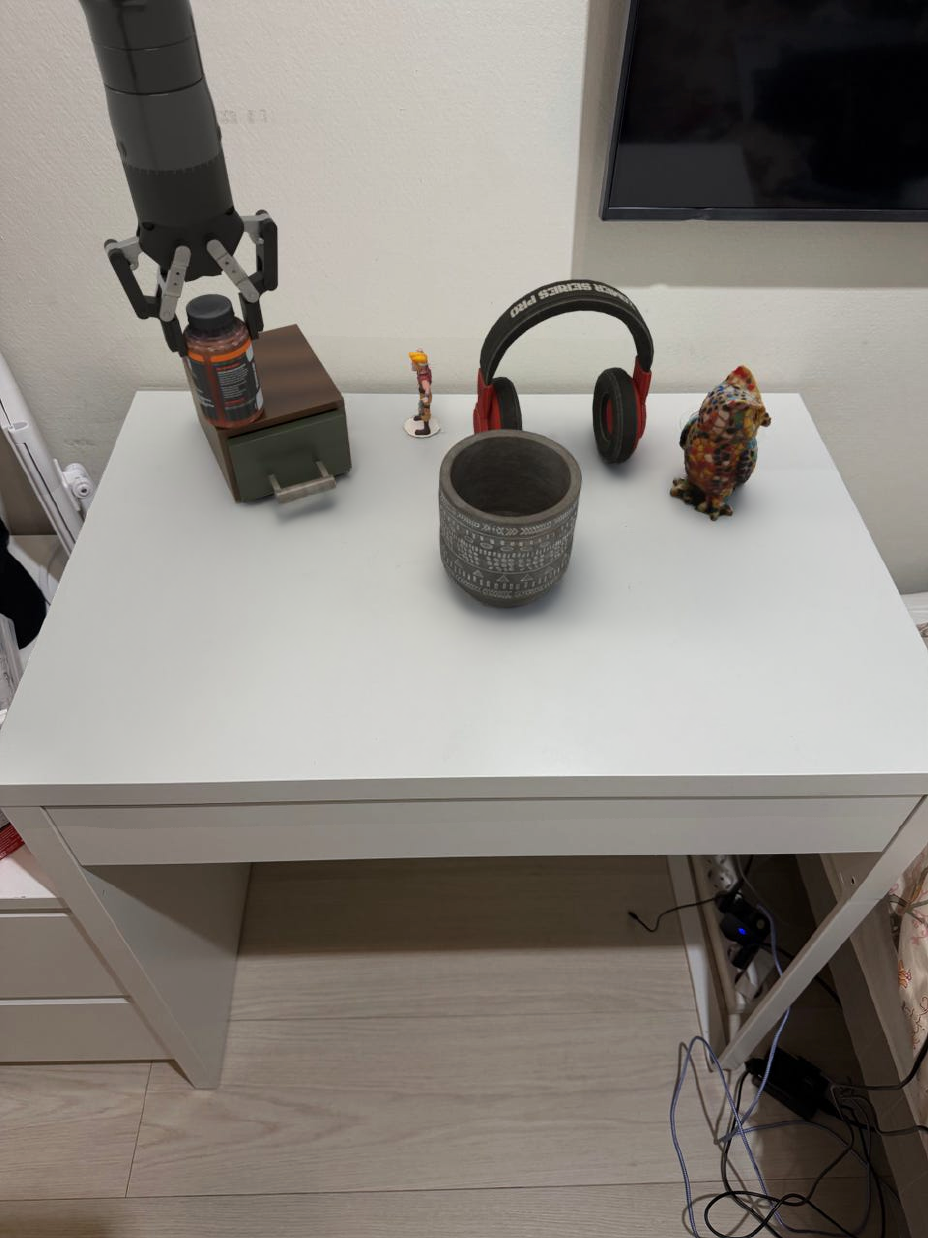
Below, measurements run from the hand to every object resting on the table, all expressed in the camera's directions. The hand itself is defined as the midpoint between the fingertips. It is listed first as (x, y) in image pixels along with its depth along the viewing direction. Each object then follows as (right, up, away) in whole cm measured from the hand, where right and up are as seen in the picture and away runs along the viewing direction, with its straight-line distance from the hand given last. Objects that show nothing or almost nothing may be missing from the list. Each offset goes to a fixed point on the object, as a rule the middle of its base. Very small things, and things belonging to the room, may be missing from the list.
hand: (217, 343), depth 76 cm
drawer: (+3, -8, +14) cm, 16 cm away
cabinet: (+1, -6, +17) cm, 18 cm away
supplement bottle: (0, -5, +6) cm, 8 cm away
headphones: (+32, -7, +16) cm, 37 cm away
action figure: (+18, -4, +19) cm, 26 cm away
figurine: (+48, -12, +13) cm, 51 cm away
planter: (+26, -21, +5) cm, 34 cm away
